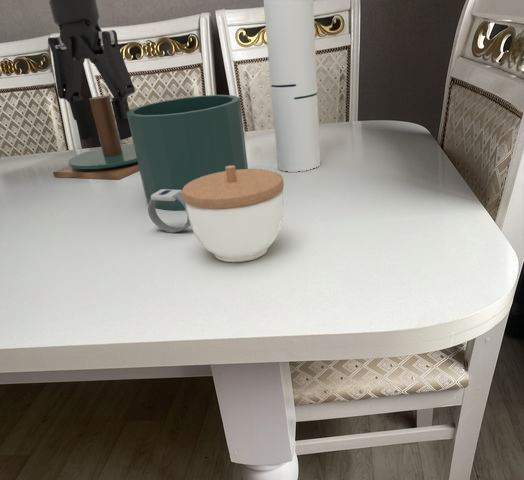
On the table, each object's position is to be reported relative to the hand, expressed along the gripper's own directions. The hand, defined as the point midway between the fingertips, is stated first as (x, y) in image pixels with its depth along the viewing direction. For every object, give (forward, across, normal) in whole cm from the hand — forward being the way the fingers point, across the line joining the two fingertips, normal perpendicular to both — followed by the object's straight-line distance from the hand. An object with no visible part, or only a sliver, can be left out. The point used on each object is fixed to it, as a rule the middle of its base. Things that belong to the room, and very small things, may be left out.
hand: (106, 137), depth 99 cm
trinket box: (+5, -46, +32) cm, 56 cm away
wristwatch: (+5, -34, +28) cm, 44 cm away
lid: (+4, 0, 0) cm, 4 cm away
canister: (+5, -28, +13) cm, 31 cm away
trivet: (+5, 0, 0) cm, 5 cm away
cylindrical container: (+5, -38, -3) cm, 39 cm away
